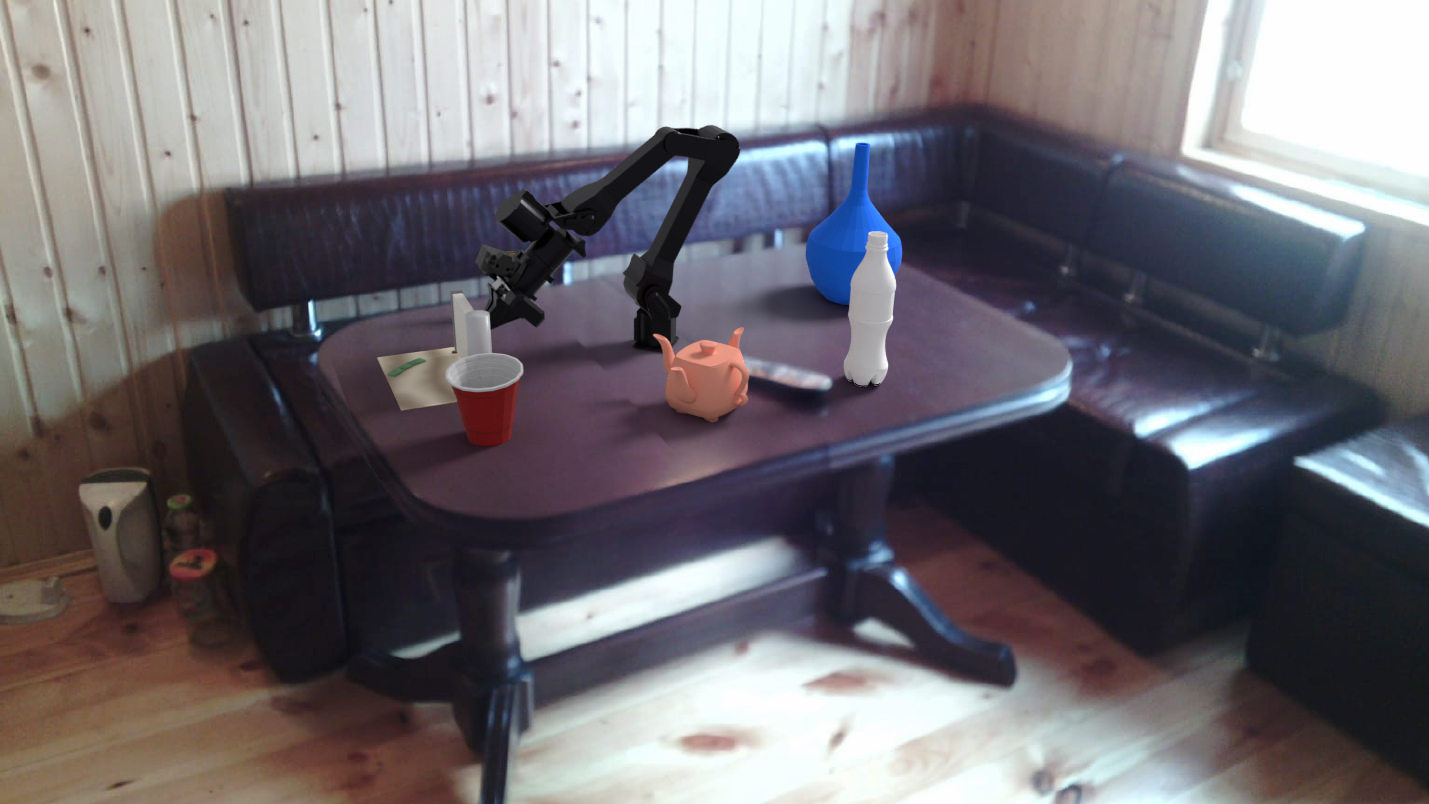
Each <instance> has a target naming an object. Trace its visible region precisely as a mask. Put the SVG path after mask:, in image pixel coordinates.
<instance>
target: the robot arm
mask: <svg viewBox="0 0 1429 804" xmlns="http://www.w3.org/2000/svg"><path fill="white" fill-rule="evenodd" d="M740 154H741V147H740V142H739V140H738V139H737V137H736V136H735V135H733V133H731V132H729V131H727V130H725V129H722V128H721V127H719V126H717V125H715V124H708V125H705V126H703V127H699V128H693V127H671V126H661V127H660V128H658V129H657V130H656V131H655V132H654V135H653V136H651V137H650V138H649V139H647V141H645V142H644V143H643V144H642V145H640V146H639V147H638V148H637V149H636V150H635V151H633V152H631V154H629V155H628V156H627V157H626V158H625V159H624V160H622V161H621V162H620V163H618V164H617V165H616V166H615V167H613V169H611V170H610V171H609V172H608V173H607V174H606V175H604V176H603V177H602V178H600V179H598V180H597V181H594V182H591V183H588V184H585V185H583V186H581V187H579V188H578V189H575V190H574V191H573V192H571V193H568V194H567V195H566V196H565V197H564V198H563V199H562V200H558V201H553V202H550V203H544V204H542V203H540V202H539V200H537V199H536V198H535V196H534V195H533V194H532V193H531V192H530V191H529V190H528V189H527V188H525V187H522V188H521V189H520V190H519V192H516V193H514V194H512V195H510V196H509V197H508V198H505V199H504V200H503V201H502V203H501V204H500V205H499V206H498V208H497V210H496V212H495V216H494V219H495V221H496V222H497V223H499V224H500V225H501V226H502V227H503V228H505V229H506V230H507V232H509V233H511V234H512V235H513V236H514V237H515V238H516V239H518V240H519V241H520V242H521V243H523V244H524V243H528V242H530V243H531V244H530V245H529V246H528V247H527V248H526V249H525V251H524V250H523V249H522V248H521V249H517V250H516V251H515V252H516V253H515V254H514V255H512V254H509V253H506V252H507V251H504V250H501V249H498V248H495V247H492V246H490V245H487V244H482V245H481V247H480V249H479V252H478V255H477V257H476V260H475V261H474V263H475V264H476V265H478V268H479V269H480V271H481V272H482V273H483V274H484V275H485V276H486V277H489V278H490V279H492V281H493V283H492V284H491V283H489V282H487V284H486V285H487V288H488V296H489V297H488V301H487V302H486V305H485V307H484V309H483V310H484V311H487V312H489V314H490V330H491V331H492V330H495V329H496V328H498V327H501V326H504V325H506V324H508V323H512V322H514V321H517V320H520V319H522V320H526V321H527V322H528V323H529V324H531V325H532V326H533V327H535V328H538V327H539V326H541V324H542V323H543V322H544V321H545V320H546V319H545V315H546V314H545V310H544V309H543V308H542V307H541V306H540V305H539V303H537V302H536V301H537V300H538V297H537V296H536V294H537V293H538V292H539V291H540V289H541V288H542V287H544V285H545V284H546V282H547V283H549V284H550V285H551V284H552V283H553V282H554V280H555V278H554V277H553V275H554V274H555V272H556V271H557V270H558V269H559V268H560V267H561V266H562V265H563V263H564V262H565V261H567V259H568V258H569V257H570V255H571V254H572V253H573V252H574V251H575V252H576V254H578V255H579V256H580V257H582V258H586V256H587V252H586V243H587V240H585V239H584V238H583V237H592V236H595V234H597V233H599V232H600V231H601V230H602V229H603V227H604V226H605V225H606V224H607V223H608V222H609V220H610V219H612V216H613V214H614V213H615V210H616V208H617V207H618V206H619V204H620V203H621V202H622V201H623V199H625V198H626V197H627V196H629V195H630V194H631V193H633V191H634V190H636V189H637V188H638V187H639V186H641V185H642V184H643V183H644V182H645V181H646V180H648V179H649V178H650V177H651V176H652V175H653V174H654V173H656V172H657V171H659V170H660V169H661V168H662V167H663V166H664V165H665V164H667V163H668V162H669V161H670V160H672V159H673V158H674V157H675V156H677V157H684V158H688V159H687V167H686V168H687V170H686V175H685V177H684V179H683V181H682V183H681V184H680V187H679V189H678V191H677V193H676V195H675V197H674V199H673V201H672V203H671V204H670V207H669V209H668V211H667V213H666V215H665V216H664V219H663V221H662V223H661V225H660V227H659V229H658V231H657V233H656V234H655V237H654V239H653V241H652V243H651V245H650V247H649V249H648V250H647V251H645V252H644V253H643V254H642V255H641V256H640V255H638V254H637V253H633V254H632V256H631V258H630V262H629V263H628V266H627V267H626V269H625V270H624V271H623V272H622V275H623V276H624V279H623V283H622V284H623V289H624V291H625V293H627V295H628V297H630V298H631V299H632V300H633V301H634V304H635V305H636V306H638V307H639V308H638V309H637V310H636V316H635V317H634V318H633V340H634V343H633V345H632V347H633V348H635V349H640V350H641V349H642V350H648V351H654V352H655V351H656V352H662V353H663V350H662V347H661V344H660V343H659V341H658V340H657V339H656V338H655V337H654V336H653V334H658V335H662V336H664V337H665V338H667V339H668V341H669V342H670V344H671V346H672V348H673V347H674V346H675V345H676V344H677V343H678V341H679V340H680V337H679V336H678V335H677V318H678V317H679V316H680V313H681V310H682V305H681V304H680V303H679V302H677V301H678V300H676V299H674V298H673V297H672V296H671V295H670V291H671V289H672V284H673V281H674V269H675V268H674V267H675V262H676V260H677V258H678V256H679V254H680V252H681V249H683V246H684V244H685V242H686V240H687V239H688V236H689V234H690V232H691V229H692V228H693V226H694V225H695V222H696V220H697V218H698V216H699V214H700V212H701V210H702V208H703V205H704V204H705V202H706V200H707V198H708V196H709V194H710V193H711V190H712V188H713V187H714V186H715V185H716V184H717V183H718V182H719V181H721V180H722V179H724V177H725V176H727V175H728V173H729V172H730V171H731V169H732V168H733V166H734V165H735V163H736V162H737V160H738V159H739V157H740ZM551 222H553V223H554V224H555V225H557V226H558V228H555V227H554V226H553V225H552V224H550V223H551ZM569 231H573V232H575V234H577V235H579V236H578V237H575V236H574V235H573V234H572V233H571V232H569ZM494 281H495V282H494Z"/></svg>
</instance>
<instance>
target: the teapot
mask: <svg viewBox="0 0 1429 804" xmlns="http://www.w3.org/2000/svg"><path fill="white" fill-rule="evenodd" d="M744 330H745V328H744V327H742V326H741V327H739V328H737V329H735V330H734V331H733V332H732V334H731V336H730V339H729V341H728V344H725V343H720V342H717V341H713V340H708V339H701V340H698V341H695V342H693V343H691V344H689V345H686V346H685V347H683V348H682V349H680V350H679V351H678V352H677V353H676V354H675V352H674V350H673V347H672V346H671V344H670V342H669V341H668V339H667V338H665V337H664V336H662V335H658V334H653V336H654V337H655V338H656V339H657V340H658V341H659V343H660V344H661V347H662V350H663V352H662V358H663V367H664V371H665V374H666V375H667V379H666V383H665V389H664V391H665V393H664V394H665V395H664V396H665V399H666V401H667V403H668V405H669V407H670V408H671V409H674V410H675V412H677V413H679V414H688V415H691V416H692V415H693V416H695V417H700V418H703V419H704V420H705V421H706V420H707V421H706V422H708V421H716V420H718V418H719V417H722V416H724V415H726V414H728V413H729V412H731V411H733V410H735V409H736V408H737V407H738V406H739V407H742V406H746V404H747V403H748V401H749V399H748V395H747V392H748V388H749V379H750V371H749V368H748V367H747V366H746V364H745V361H744V357H743V354H742V352H741V349H740V339H741V336H742V335H743V333H744ZM718 421H719V420H718ZM716 422H717V421H716Z"/></svg>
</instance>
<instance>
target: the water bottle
mask: <svg viewBox="0 0 1429 804" xmlns="http://www.w3.org/2000/svg"><path fill="white" fill-rule="evenodd" d="M887 237H888V236H887V233H884V232H880V231H873V232H869V235H868V242H867V245H866V246H865V248H866V249H867V250H866V254H865V257H864V259H863V260H862V262H861V263H860V265H859V266H858V268H857V269H856V271H855V273H854V275H853V277H852V280H851V294H850V305H848V306H849V307H848V308H849V309H848V312H847V317H848V318H849V319H848V320H849V324H850V332H851V335H850V336H851V337H850V339H851V340H850V345H849V349H848V352H847V355H846V357H845V359H844V361H843V371H844V374H845V377H846V380H847V379H849V380H851V379H853V381H852V382H853V383H854V384H855V383H856V384H858V385H867V386H868V385H869V384H870V382H871V384H873V383H874V384H879V383H880V384H881V383H882V382H883V381H884V379H885V378H886V376H887V374H888V369H889V362H888V359H887V354H886V338H887V334H888V332H889V328H890V327H891V325H892V323H893V320H894V316H893V311H894V303H895V302H894V301H895V294H896V293H895V292H896V289H897V281H896V275H895V276H894V274H893V271H892V269H891V267H890V264H889V262H888V259H887V254H886V252H887V250H888V247H887V246H888V244H887ZM849 380H848V381H849ZM856 384H855V385H856ZM880 384H879V385H880ZM858 385H857V386H858Z"/></svg>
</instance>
